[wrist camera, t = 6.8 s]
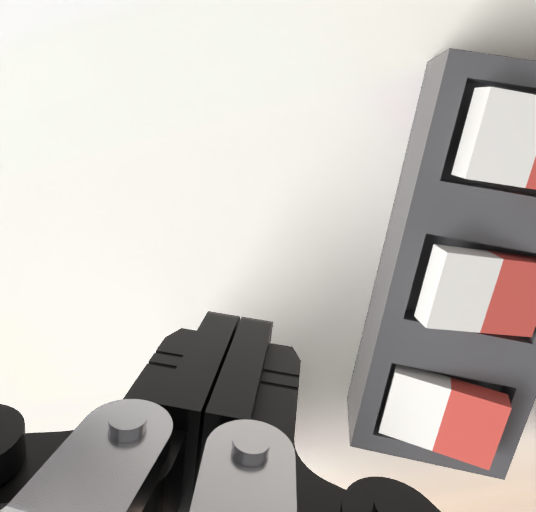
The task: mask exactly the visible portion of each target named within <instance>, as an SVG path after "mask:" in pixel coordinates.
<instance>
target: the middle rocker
mask: <svg viewBox="0 0 536 512" xmlns="http://www.w3.org/2000/svg"><path fill="white" fill-rule="evenodd" d="M414 316H415V317H416V318H417V319H418V321H419V322H420V323H421V324H422V325H423V326H424V327H425V328H430V329H441V330H453V331H465V332H476V333H488V334H499V335H511V336H522V337H532V335H533V332H534V329H535V327H536V256H528V255H520V254H512V253H503V252H495V251H487V250H479V249H470V248H462V247H454V246H445V245H437V244H434V245H433V248H432V252H431V256H430V259H429V263H428V267H427V270H426V274H425V278H424V281H423V285H422V289H421V292H420V296H419V300H418V303H417V307H416V311H415V314H414Z"/></svg>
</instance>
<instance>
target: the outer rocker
mask: <svg viewBox="0 0 536 512" xmlns="http://www.w3.org/2000/svg"><path fill="white" fill-rule="evenodd" d="M511 409H512V407H511V403H510V400H509V396H508V394H505V393H502V392H498V391H495V390H492V389H488V388H485V387H482V386H478V385H475V384H471V383H468V382H465V381H461V380H458V379H455V378H451V377H448V376H444V375H441V374H438V373H434V372H431V371H428V370H424V369H419V368H414V367H409V366H404V365H399V364H396V366H395V370H394V373H393V377H392V381H391V385H390V388H389V392H388V396H387V399H386V403H385V407H384V411H383V414H382V418H381V423H380V428H379V433H381V434H384V435H387V436H390V437H393V438H396V439H399V440H401V441H404V442H407V443H410V444H413V445H416V446H419V447H422V448H425V449H428V450H431V451H434V452H436V453H439V454H442V455H445V456H448V457H451V458H454V459H457V460H460V461H463V462H466V463H469V464H471V465H474V466H477V467H480V468H483V469H486V470H489V469H490V467H491V464H492V461H493V458H494V456H495V453H496V450H497V447H498V445H499V442H500V439H501V436H502V434H503V431H504V428H505V426H506V423H507V420H508V417H509V415H510V412H511Z"/></svg>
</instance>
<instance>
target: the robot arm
mask: <svg viewBox="0 0 536 512" xmlns="http://www.w3.org/2000/svg"><path fill="white" fill-rule="evenodd" d="M272 327H273V322H270V321H264V320H258V319H252V318H246V317H242V318H241V320H240V317H239V316H233V315H227V314H222V313H216V312H210V311H208V312H207V314H206V316H205V318H204V319H203V321H202V323H201V325H200V327H199V328H198V330H197V331H195V330H189V329H183V328H181V329H179V330H178V331H176V332H174V333H172V334H171V335H169V336H167V337H165V339H164V340H163V341H162V343H161V344H160V346H159V347H158V349H157V350H156V353H154V355H153V356H152V358H151V359H150V360H149V364H147V365H146V366H145V368H144V369H143V371H142V372H141V374H140V375H139V377H138V378H137V380H136V381H135V382H134V384H133V385H132V387H131V388H130V390H129V391H128V393H127V394H126V396H125V397H124V399H123V400H117V401H113V402H109V403H107V404H104V405H102V406H100V407H98V408H96V409H95V410H94V411H92V412H91V413H90V414H89V415H88V416H87V417H86V418H85V419H84V420H83V421H82V422H81V423H80V424H79V426H78V427H77V428H76V429H75V430H71V431H62V432H44V433H25V423H24V418H23V416H22V415H21V414H20V413H19V411H17V410H16V409H14V408H12V407H9V406H6V405H2V404H0V512H441V511H440V510H439V509H437V508H436V507H435V506H434V505H433V504H432V503H431V502H430V501H429V500H428V499H427V498H426V497H424V496H423V495H422V494H421V493H420V492H418V491H417V490H415V489H414V488H412V487H410V486H408V485H406V484H404V483H402V482H399V481H397V480H394V479H390V478H385V477H367V478H363V479H360V480H357V481H356V482H354V483H352V484H351V485H350V486H349V487H348V489H347V490H345V489H343V488H341V487H338V486H336V485H334V484H332V483H330V482H328V481H326V480H324V479H322V478H320V477H319V476H317V475H316V474H315V473H313V472H312V471H311V470H310V469H309V468H307V467H306V465H305V464H304V463H303V462H302V461H301V459H300V458H299V456H298V454H297V452H296V449H295V445H294V433H295V421H296V410H297V398H298V386H299V374H300V362H301V361H300V359H299V357H298V356H297V354H296V352H295V351H294V349H293V347H289V346H283V345H277V344H271V343H270V341H271V334H272Z"/></svg>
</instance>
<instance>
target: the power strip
mask: <svg viewBox="0 0 536 512" xmlns="http://www.w3.org/2000/svg"><path fill="white" fill-rule="evenodd" d="M479 87H496V88H501V89H507V90H513V91H518V92H524V93H529V94H535V95H536V61H533V60H526V59H519V58H512V57H505V56H499V55H492V54H485V53H478V52H472V51H465V50H458V49H451V48H449V49H448V50H446V51H445V52H443V53H441V54H440V55H438V56H436V57H435V58H433V59H432V60H430V61H428V62H427V67H426V71H425V75H424V79H423V83H422V87H421V92H420V96H419V100H418V104H417V108H416V113H415V117H414V121H413V125H412V129H411V133H410V138H409V142H408V146H407V150H406V154H405V158H404V163H403V167H402V171H401V175H400V179H399V184H398V188H397V192H396V196H395V200H394V204H393V209H392V213H391V217H390V221H389V225H388V230H387V234H386V238H385V242H384V246H383V250H382V255H381V259H380V263H379V267H378V271H377V276H376V280H375V284H374V288H373V292H372V296H371V301H370V305H369V309H368V313H367V317H366V322H365V326H364V330H363V334H362V338H361V342H360V347H359V351H358V355H357V359H356V363H355V368H354V372H353V376H352V380H351V384H350V388H349V393H348V397H347V404H348V420H349V436H350V446H352V447H356V448H361V449H366V450H370V451H375V452H379V453H384V454H389V455H393V456H398V457H402V458H407V459H412V460H416V461H421V462H425V463H430V464H435V465H439V466H444V467H448V468H453V469H458V470H462V471H467V472H471V473H476V474H481V475H485V476H490V477H494V478H499V479H504V480H505V477H506V474H507V472H508V469H509V466H510V464H511V461H512V459H513V456H514V453H515V451H516V448H517V445H518V443H519V440H520V437H521V435H522V432H523V430H524V427H525V424H526V422H527V419H528V416H529V414H530V411H531V408H532V406H533V403H534V400H535V398H536V327H535V329H534V332H533V335H532V337H522V336H511V335H499V334H488V333H476V332H465V331H453V330H441V329H430V328H425V327H424V326H423V325H422V324H421V323H420V322H419V321H418V319H417V318H416V317H415V316H414V314H415V311H416V307H417V303H418V300H419V296H420V292H421V289H422V285H423V281H424V278H425V274H426V270H427V267H428V263H429V259H430V256H431V252H432V248H433V245H434V244H437V245H445V246H454V247H462V248H470V249H479V250H487V251H495V252H503V253H512V254H520V255H528V256H536V190H535V189H528V188H522V187H515V186H509V185H502V184H496V183H489V182H483V181H476V180H470V179H464V178H461V177H458V176H454V175H451V173H452V170H453V166H454V162H455V159H456V155H457V151H458V148H459V144H460V140H461V137H462V133H463V129H464V125H465V122H466V118H467V114H468V111H469V107H470V103H471V100H472V96H473V92H474V89H475V88H479ZM396 364H399V365H404V366H409V367H414V368H419V369H424V370H428V371H431V372H434V373H438V374H441V375H444V376H448V377H451V378H455V379H458V380H461V381H465V382H468V383H471V384H475V385H478V386H482V387H485V388H488V389H492V390H495V391H498V392H502V393H505V394H508V396H509V400H510V403H511V407H512V409H511V412H510V415H509V417H508V420H507V423H506V426H505V428H504V431H503V434H502V436H501V439H500V442H499V445H498V447H497V450H496V453H495V456H494V458H493V461H492V464H491V467H490V469H489V470H486V469H483V468H480V467H477V466H474V465H471V464H469V463H466V462H463V461H460V460H457V459H454V458H451V457H448V456H445V455H442V454H439V453H436V452H434V451H431V450H428V449H425V448H422V447H419V446H416V445H413V444H410V443H407V442H404V441H401V440H399V439H396V438H393V437H390V436H387V435H384V434H381V433H379V428H380V423H381V418H382V414H383V411H384V407H385V403H386V399H387V396H388V392H389V388H390V385H391V381H392V377H393V373H394V370H395V366H396Z"/></svg>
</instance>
